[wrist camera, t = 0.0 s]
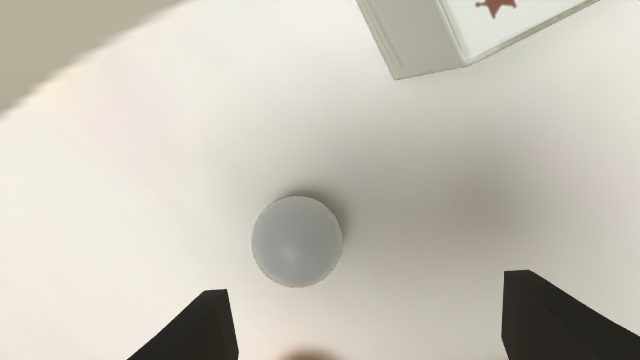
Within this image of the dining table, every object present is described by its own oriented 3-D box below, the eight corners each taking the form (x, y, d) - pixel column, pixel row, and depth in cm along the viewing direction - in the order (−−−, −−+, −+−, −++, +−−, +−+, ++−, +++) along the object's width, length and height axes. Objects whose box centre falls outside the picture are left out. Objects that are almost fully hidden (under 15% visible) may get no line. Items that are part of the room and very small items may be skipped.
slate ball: (311, 282, 24) (305, 321, 20) (244, 237, 23) (224, 267, 19) (359, 219, 23) (362, 246, 19) (290, 171, 23) (279, 188, 19)
